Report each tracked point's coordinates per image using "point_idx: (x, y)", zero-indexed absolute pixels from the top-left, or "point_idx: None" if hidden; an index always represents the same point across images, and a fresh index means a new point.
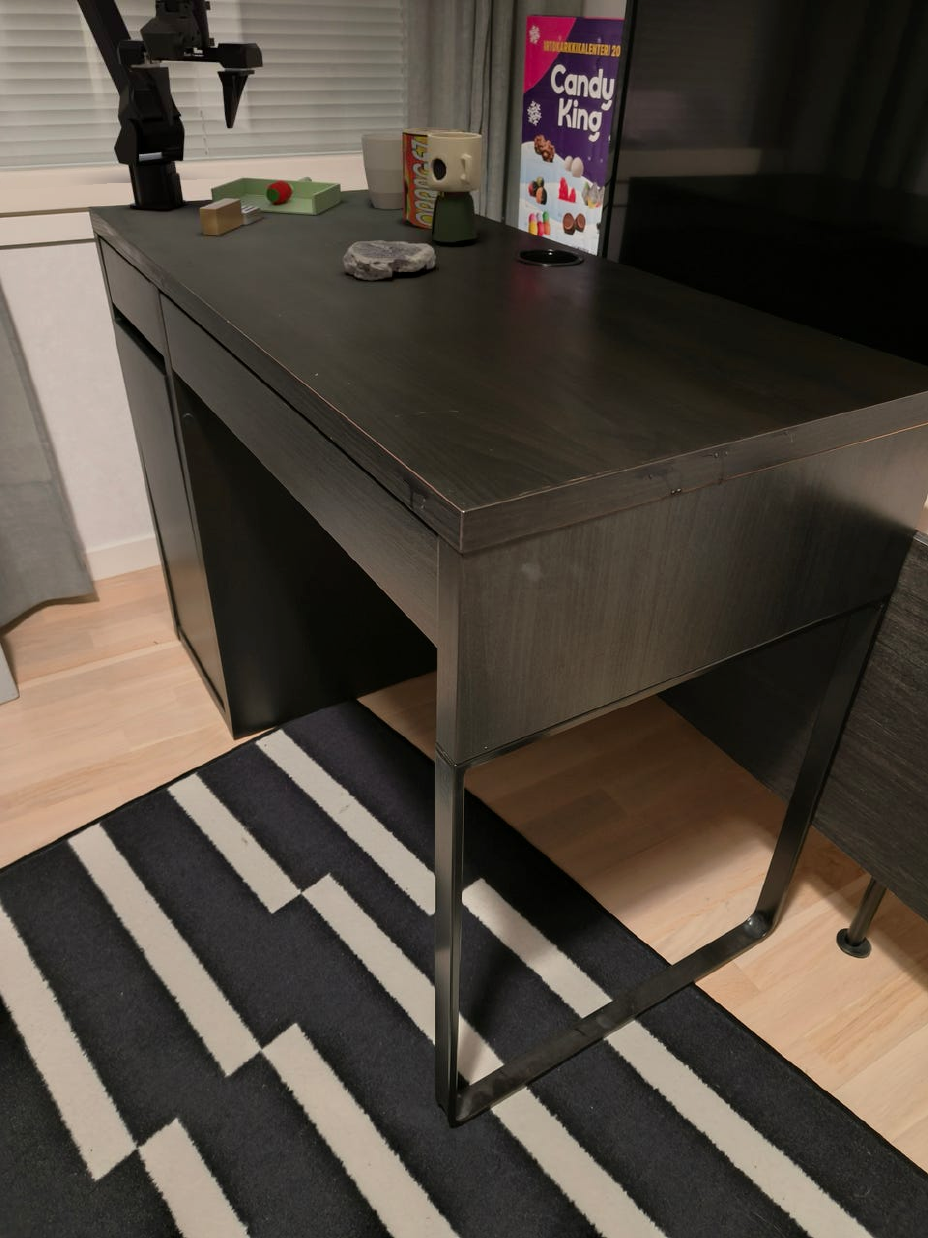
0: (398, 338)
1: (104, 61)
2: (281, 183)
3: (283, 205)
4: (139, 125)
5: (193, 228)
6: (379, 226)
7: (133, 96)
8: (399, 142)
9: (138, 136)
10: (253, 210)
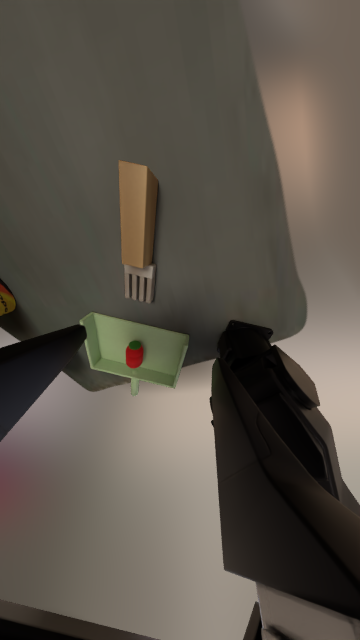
0: None
1: None
2: (128, 359)
3: (130, 340)
4: (284, 386)
5: (182, 228)
6: (12, 267)
7: (322, 454)
8: None
9: (281, 368)
10: (125, 280)
